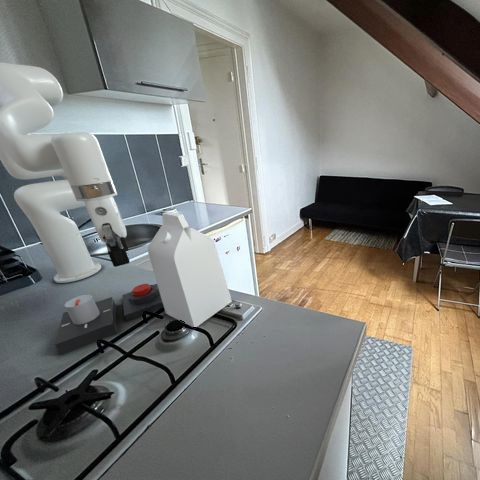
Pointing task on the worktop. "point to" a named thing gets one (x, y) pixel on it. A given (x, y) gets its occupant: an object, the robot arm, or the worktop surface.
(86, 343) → the panel
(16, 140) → the robot arm
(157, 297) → the power block
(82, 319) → the knob
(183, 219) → the milk
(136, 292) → the power button
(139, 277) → the worktop surface
